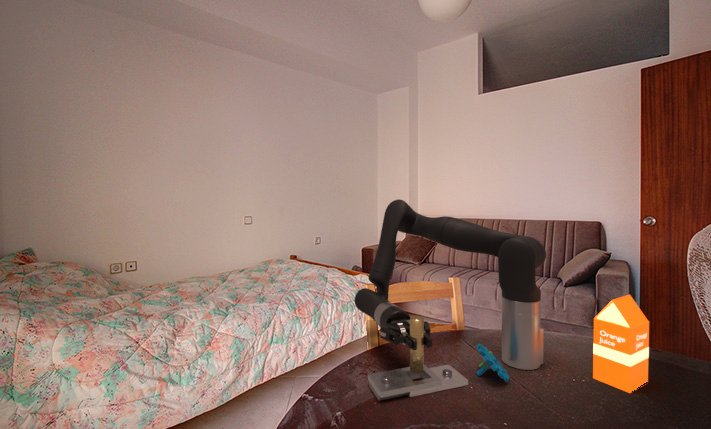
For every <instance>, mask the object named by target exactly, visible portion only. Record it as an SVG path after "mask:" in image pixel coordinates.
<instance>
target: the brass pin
mask: <svg viewBox="0 0 711 429" xmlns="http://www.w3.org/2000/svg"><path fill="white" fill-rule="evenodd" d="M424 322H425V318H424V317H422V316H410V336H411V337H413V338H414V339H415V340H416V341H417V350H412V349H411V348H409V367H410V370H411V371H413V372H416V373H420V372H423V371H424V363H425V362H424V361H425V358H424V356H425V352H424V351H425V350H424V349H425V345H424Z"/></svg>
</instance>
